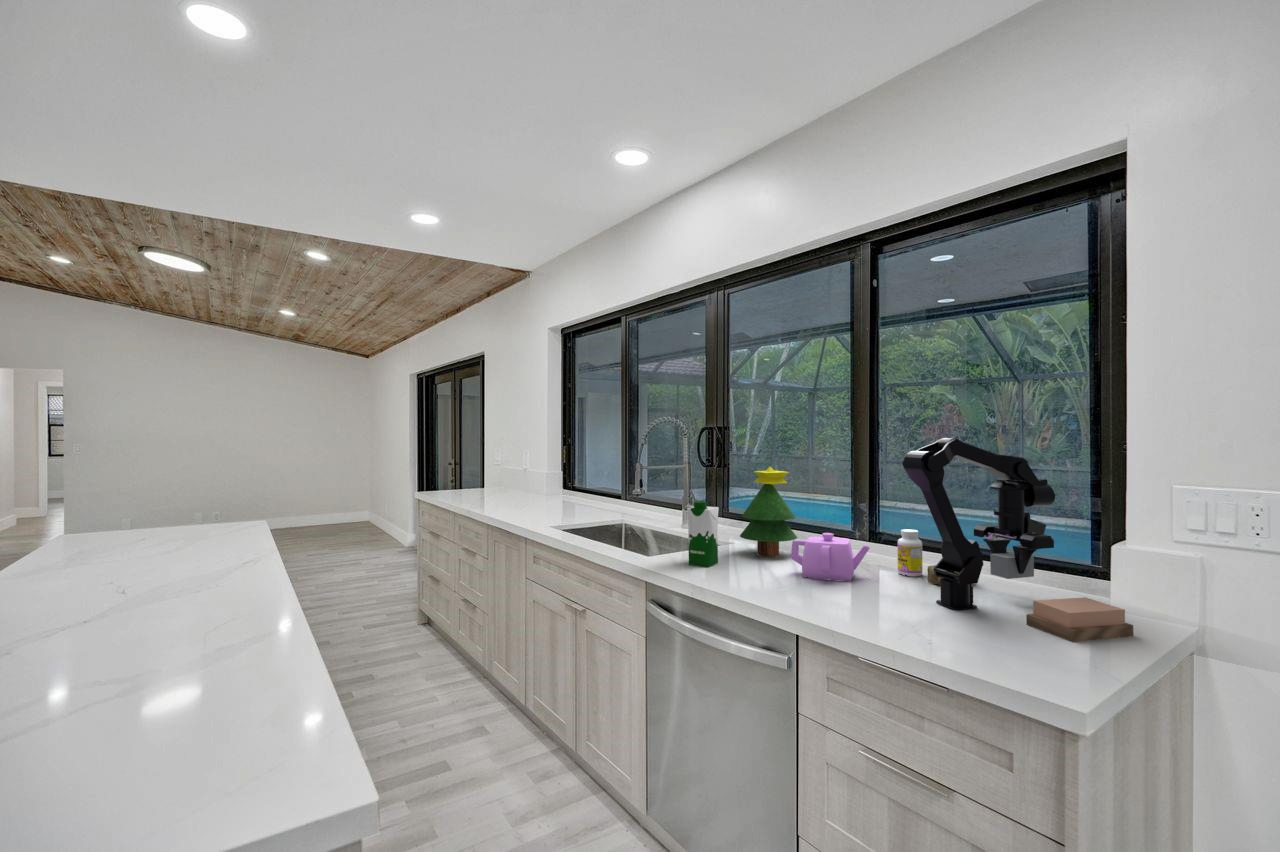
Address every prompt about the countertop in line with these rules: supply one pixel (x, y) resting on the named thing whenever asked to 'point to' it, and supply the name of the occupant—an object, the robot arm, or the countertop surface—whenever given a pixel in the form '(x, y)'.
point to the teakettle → (827, 557)
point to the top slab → (1079, 612)
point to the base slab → (1079, 630)
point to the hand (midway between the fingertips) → (1012, 571)
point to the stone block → (932, 577)
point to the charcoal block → (1009, 566)
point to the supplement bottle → (909, 553)
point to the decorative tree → (768, 515)
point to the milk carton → (703, 534)
